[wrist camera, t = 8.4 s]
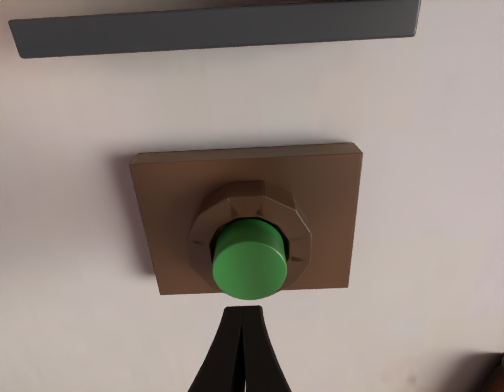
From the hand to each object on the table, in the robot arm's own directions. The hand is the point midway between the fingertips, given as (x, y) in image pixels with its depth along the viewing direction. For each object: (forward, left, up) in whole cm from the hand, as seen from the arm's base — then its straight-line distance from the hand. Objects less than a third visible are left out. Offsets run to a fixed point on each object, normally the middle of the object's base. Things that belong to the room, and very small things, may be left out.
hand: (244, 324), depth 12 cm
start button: (0, 0, -5) cm, 5 cm away
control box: (0, 0, -8) cm, 9 cm away
